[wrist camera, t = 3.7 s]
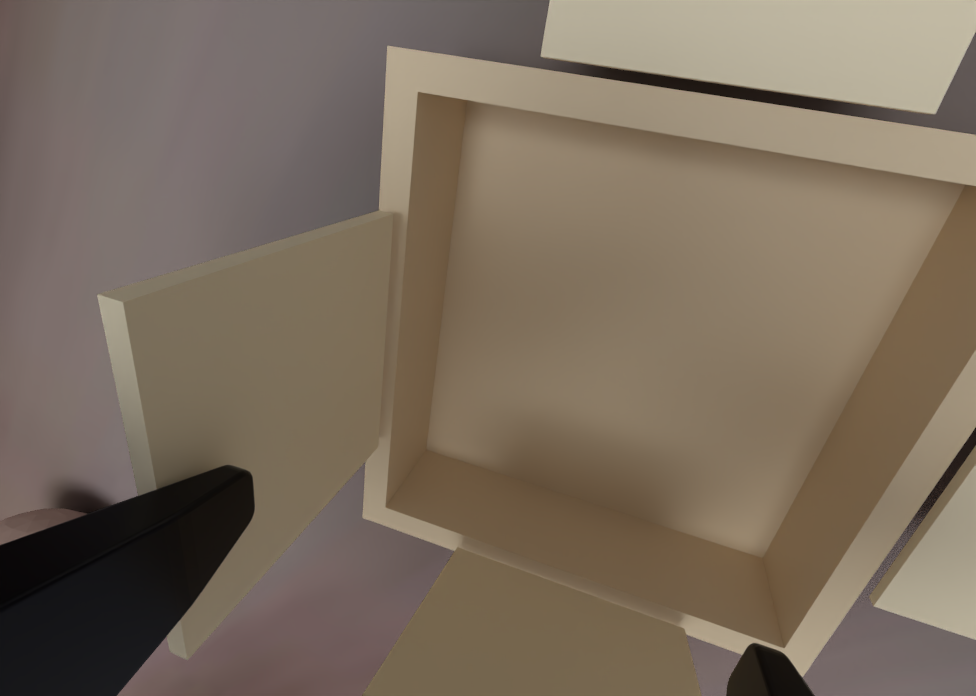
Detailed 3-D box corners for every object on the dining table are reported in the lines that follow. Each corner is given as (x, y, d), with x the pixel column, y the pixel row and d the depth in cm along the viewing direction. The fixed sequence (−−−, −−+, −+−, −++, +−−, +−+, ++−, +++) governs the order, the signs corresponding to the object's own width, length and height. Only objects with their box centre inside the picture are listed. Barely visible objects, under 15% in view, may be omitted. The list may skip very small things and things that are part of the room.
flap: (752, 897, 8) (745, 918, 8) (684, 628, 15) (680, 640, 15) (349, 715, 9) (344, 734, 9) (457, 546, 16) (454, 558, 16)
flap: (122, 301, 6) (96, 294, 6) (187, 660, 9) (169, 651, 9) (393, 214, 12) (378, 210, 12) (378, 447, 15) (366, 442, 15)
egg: (106, 582, 33) (-52, 714, 25) (35, 493, 31) (-157, 606, 24) (173, 568, 30) (16, 713, 22) (98, 468, 28) (-99, 590, 21)
